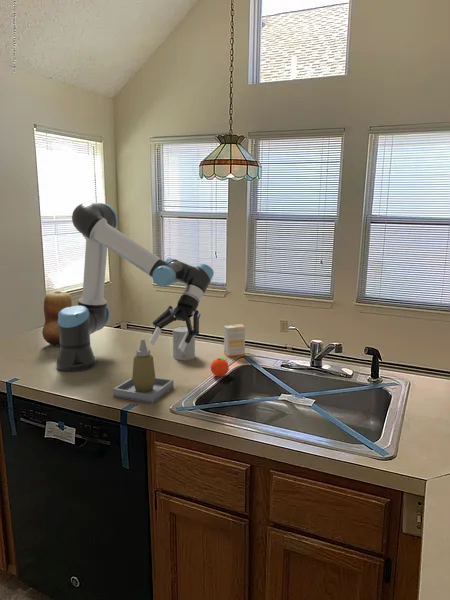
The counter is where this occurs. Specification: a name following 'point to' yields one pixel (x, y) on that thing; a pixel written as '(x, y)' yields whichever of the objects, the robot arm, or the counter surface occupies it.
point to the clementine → (219, 367)
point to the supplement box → (234, 340)
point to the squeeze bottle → (143, 369)
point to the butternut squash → (54, 314)
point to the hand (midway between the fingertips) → (165, 346)
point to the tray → (129, 392)
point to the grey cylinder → (177, 338)
